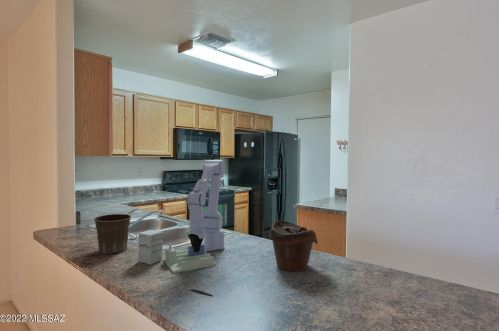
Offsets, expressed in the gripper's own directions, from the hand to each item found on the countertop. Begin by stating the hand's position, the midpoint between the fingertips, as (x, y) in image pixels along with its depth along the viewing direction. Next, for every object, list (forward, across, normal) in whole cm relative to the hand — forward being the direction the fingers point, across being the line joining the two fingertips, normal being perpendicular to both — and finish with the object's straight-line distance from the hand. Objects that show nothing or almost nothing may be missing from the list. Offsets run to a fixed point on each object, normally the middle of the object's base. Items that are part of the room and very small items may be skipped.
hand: (195, 251), depth 125 cm
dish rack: (+5, 0, -3) cm, 5 cm away
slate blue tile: (+4, 0, 0) cm, 4 cm away
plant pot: (+5, -33, -30) cm, 45 cm away
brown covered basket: (+5, +24, +34) cm, 42 cm away
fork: (+5, +26, -10) cm, 28 cm away
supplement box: (+5, -10, -17) cm, 20 cm away
